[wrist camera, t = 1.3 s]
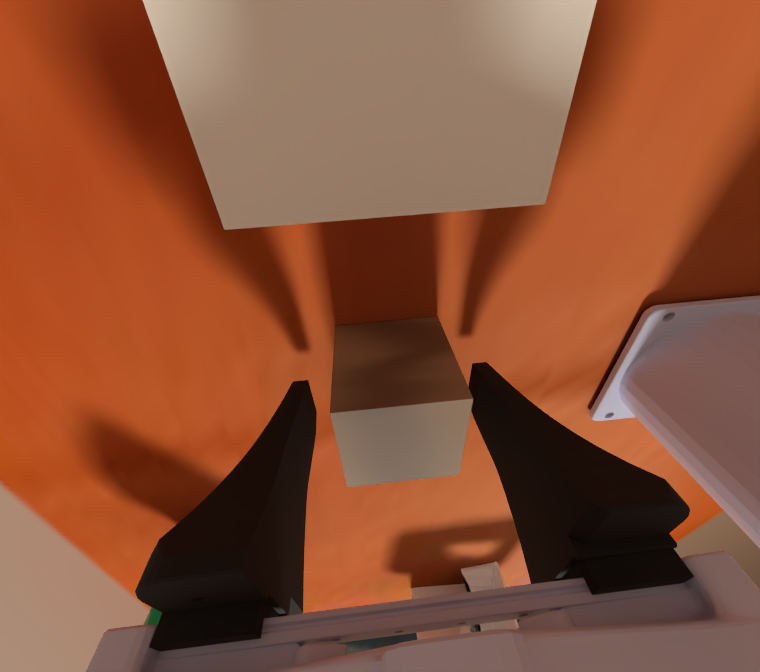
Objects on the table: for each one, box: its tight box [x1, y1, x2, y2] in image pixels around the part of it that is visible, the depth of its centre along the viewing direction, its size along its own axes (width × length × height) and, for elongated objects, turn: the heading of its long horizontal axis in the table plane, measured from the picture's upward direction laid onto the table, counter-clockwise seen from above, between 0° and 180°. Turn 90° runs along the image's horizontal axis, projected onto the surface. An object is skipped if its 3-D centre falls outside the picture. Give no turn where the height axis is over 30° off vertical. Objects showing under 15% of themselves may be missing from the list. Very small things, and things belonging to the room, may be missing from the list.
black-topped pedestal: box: [411, 562, 519, 640], centre depth 30 cm, size 28×26×13 cm
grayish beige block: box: [330, 316, 473, 487], centre depth 13 cm, size 5×5×5 cm
